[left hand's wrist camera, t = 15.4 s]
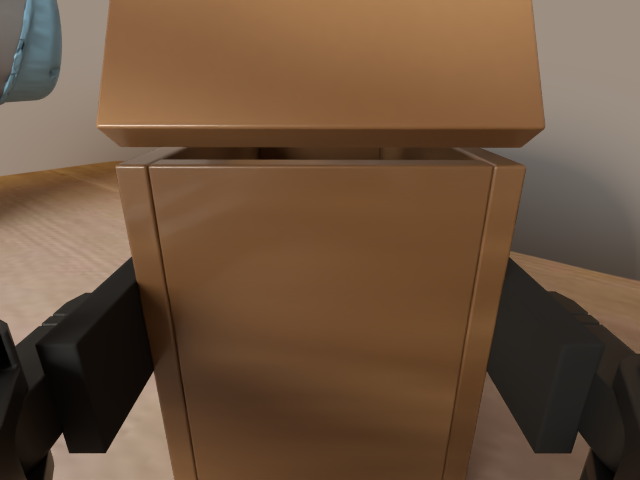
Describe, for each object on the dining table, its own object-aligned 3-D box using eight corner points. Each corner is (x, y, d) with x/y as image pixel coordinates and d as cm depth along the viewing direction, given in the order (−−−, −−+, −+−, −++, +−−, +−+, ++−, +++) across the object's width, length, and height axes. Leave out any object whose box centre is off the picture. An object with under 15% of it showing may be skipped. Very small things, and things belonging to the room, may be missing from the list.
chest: (256, 267, 28) (247, 112, 24) (381, 267, 28) (392, 112, 24) (177, 500, 12) (112, 165, 8) (462, 500, 12) (528, 165, 8)
